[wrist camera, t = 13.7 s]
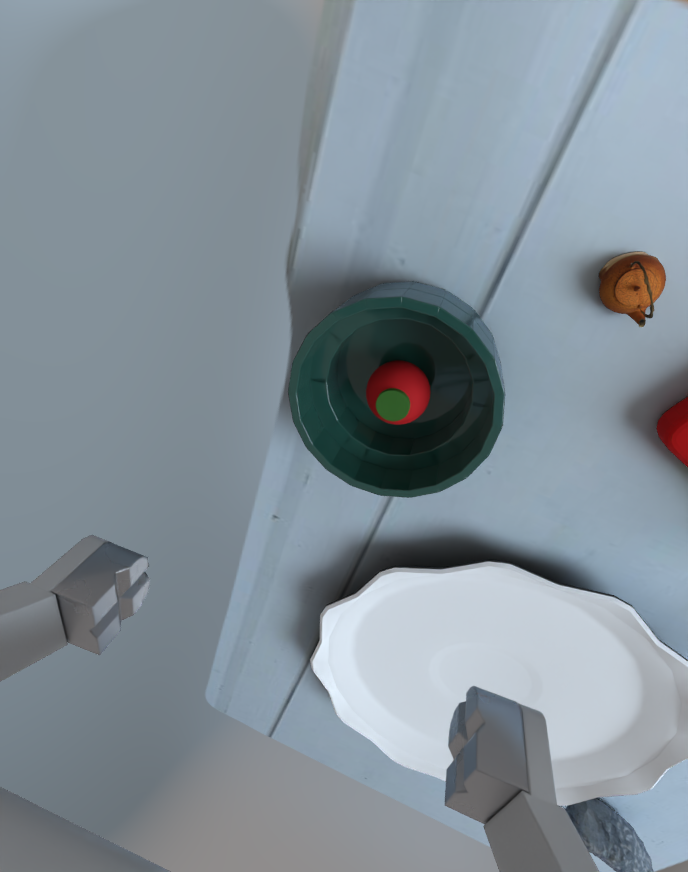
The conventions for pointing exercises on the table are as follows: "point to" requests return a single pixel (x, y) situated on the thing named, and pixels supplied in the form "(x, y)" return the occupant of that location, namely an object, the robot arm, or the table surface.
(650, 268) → the teapot
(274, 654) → the table surface
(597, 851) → the grey rock
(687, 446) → the popsicle
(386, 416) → the strawberry
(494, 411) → the bowl
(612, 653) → the plate
